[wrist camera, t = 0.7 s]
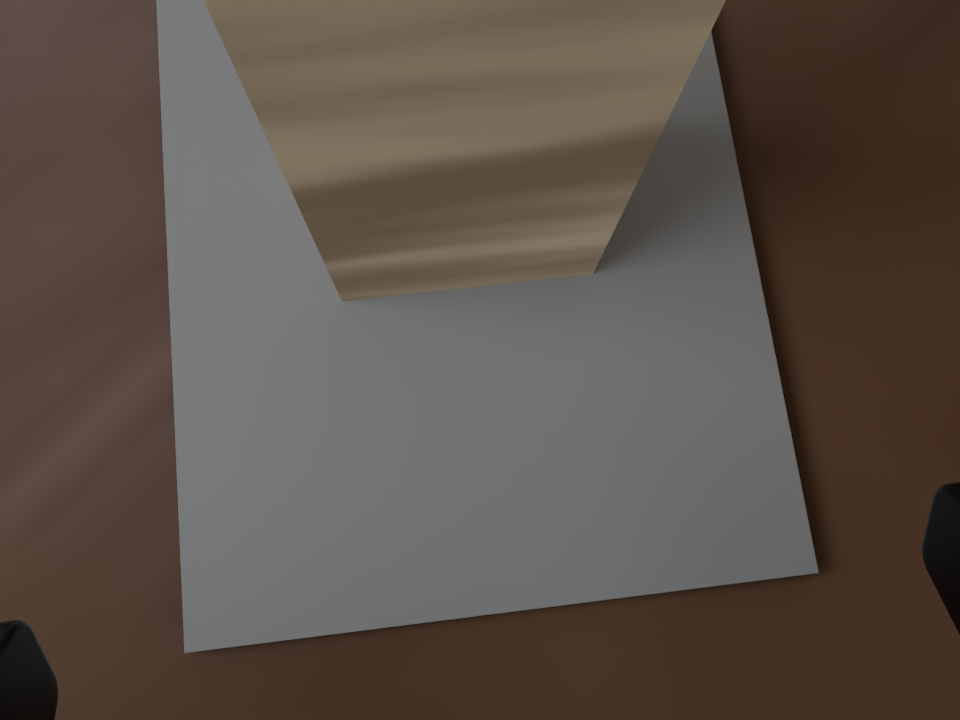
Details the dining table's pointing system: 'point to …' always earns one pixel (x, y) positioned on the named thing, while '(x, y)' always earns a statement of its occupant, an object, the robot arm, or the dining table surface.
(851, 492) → the dining table surface
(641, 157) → the birch block
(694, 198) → the rubber mat
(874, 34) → the dining table surface
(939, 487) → the robot arm
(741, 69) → the dining table surface
